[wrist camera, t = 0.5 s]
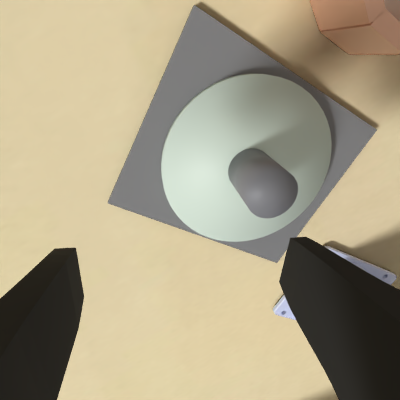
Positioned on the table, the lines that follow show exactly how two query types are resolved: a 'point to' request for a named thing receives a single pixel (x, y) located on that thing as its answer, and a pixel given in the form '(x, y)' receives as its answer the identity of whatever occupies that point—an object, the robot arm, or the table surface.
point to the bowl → (360, 25)
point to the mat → (188, 88)
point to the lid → (245, 157)
